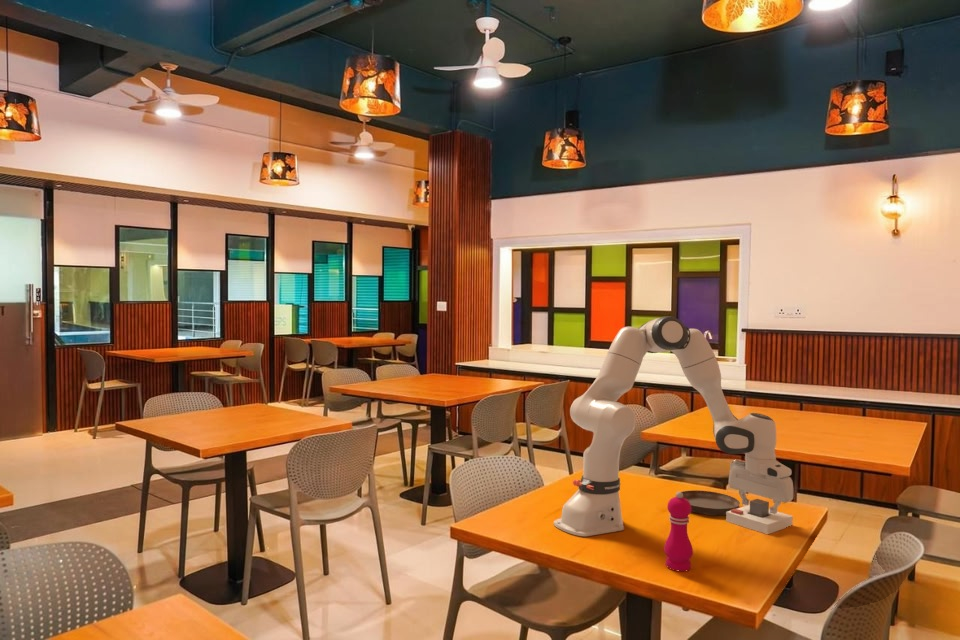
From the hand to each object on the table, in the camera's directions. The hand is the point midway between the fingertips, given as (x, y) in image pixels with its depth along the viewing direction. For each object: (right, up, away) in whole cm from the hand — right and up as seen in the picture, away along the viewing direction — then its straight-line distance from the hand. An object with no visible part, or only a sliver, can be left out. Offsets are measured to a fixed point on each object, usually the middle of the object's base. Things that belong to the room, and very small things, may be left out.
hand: (759, 508), depth 204 cm
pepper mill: (-36, -6, -34) cm, 50 cm away
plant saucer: (-11, -5, +16) cm, 20 cm away
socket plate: (0, -5, 0) cm, 5 cm away
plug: (0, -5, 0) cm, 5 cm away
